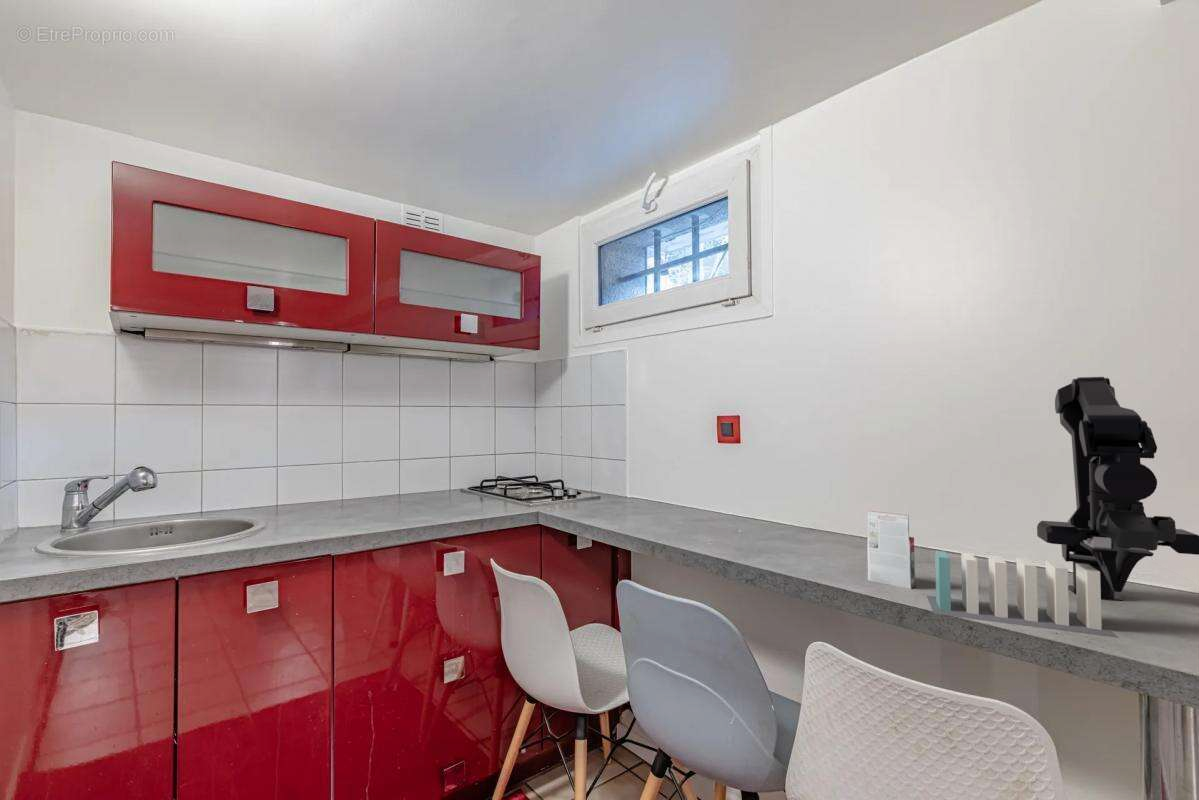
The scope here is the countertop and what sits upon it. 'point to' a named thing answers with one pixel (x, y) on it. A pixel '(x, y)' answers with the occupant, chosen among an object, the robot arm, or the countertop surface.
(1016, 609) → the runner mat
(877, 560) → the ink box
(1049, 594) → the domino
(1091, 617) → the domino
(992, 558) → the domino
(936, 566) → the domino
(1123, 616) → the countertop surface
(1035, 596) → the domino
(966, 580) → the domino
